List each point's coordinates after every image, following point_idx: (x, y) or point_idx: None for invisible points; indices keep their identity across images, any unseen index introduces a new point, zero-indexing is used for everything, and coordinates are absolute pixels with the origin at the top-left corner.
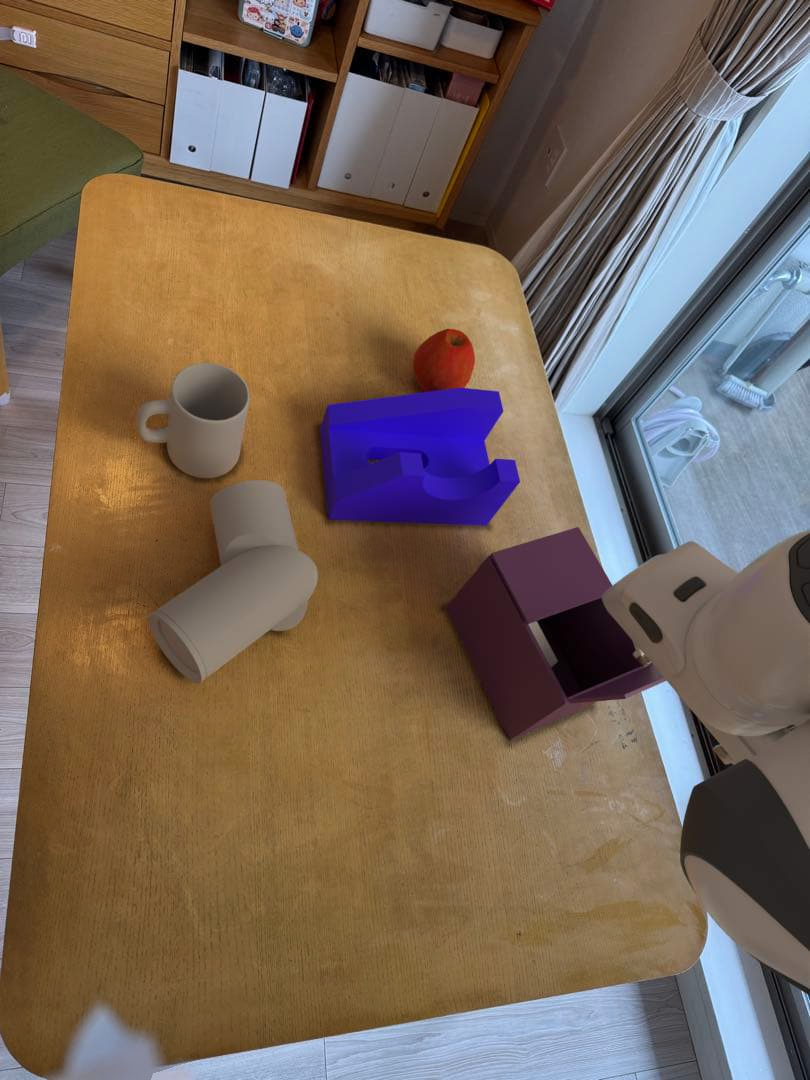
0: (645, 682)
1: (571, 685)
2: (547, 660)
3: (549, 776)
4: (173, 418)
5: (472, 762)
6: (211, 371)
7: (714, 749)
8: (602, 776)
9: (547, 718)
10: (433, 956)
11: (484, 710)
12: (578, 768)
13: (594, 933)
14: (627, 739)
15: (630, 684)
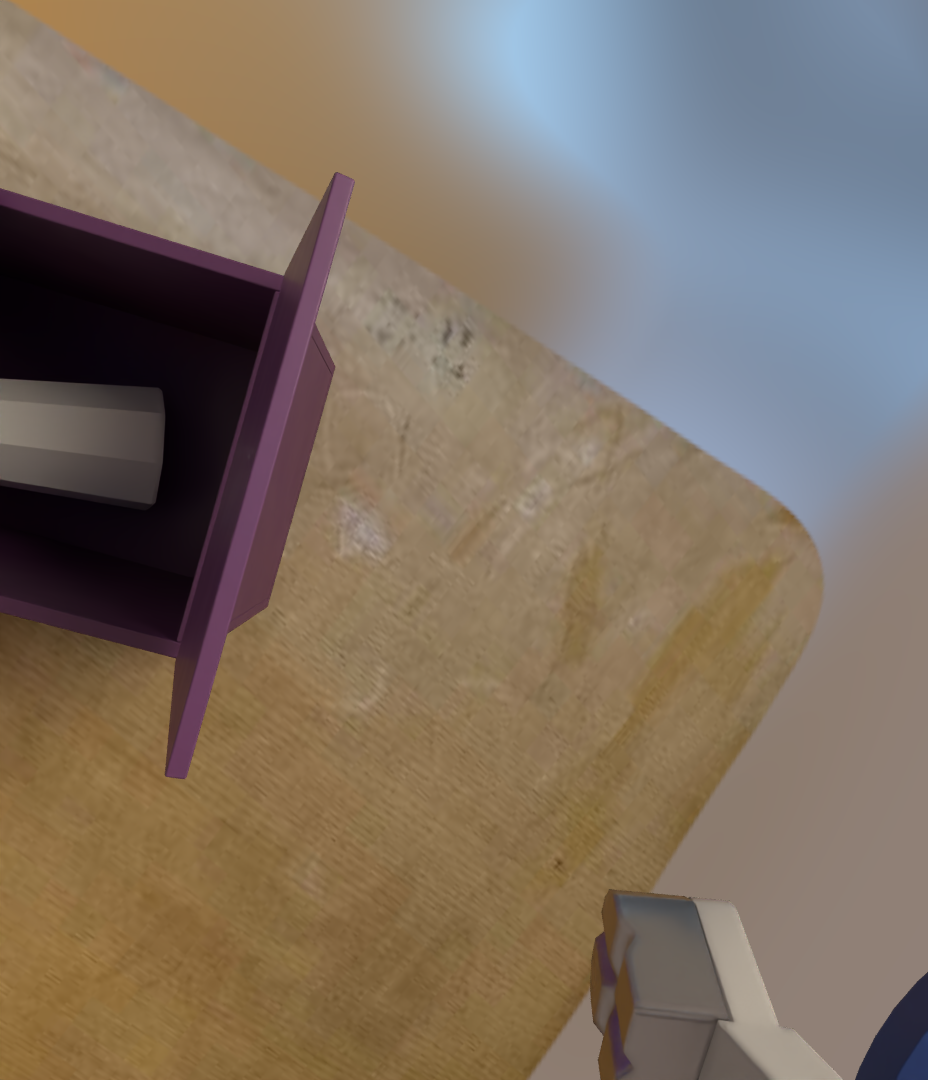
0: (213, 587)
1: None
2: (138, 445)
3: (387, 584)
4: None
5: (248, 715)
6: None
7: (599, 1029)
8: (470, 475)
9: (248, 587)
10: (471, 1027)
11: None
12: (420, 511)
13: (665, 734)
14: (454, 351)
15: (210, 578)
